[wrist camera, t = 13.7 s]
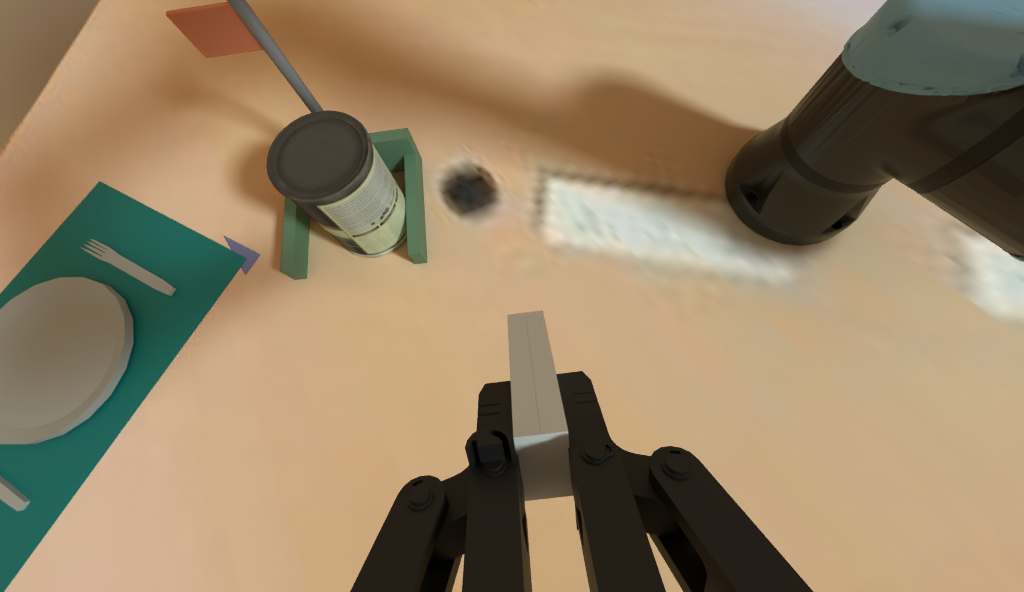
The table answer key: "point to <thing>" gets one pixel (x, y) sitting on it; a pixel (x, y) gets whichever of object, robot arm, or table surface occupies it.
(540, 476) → the robot arm
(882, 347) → the table surface
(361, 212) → the coffee can
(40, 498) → the place mat
